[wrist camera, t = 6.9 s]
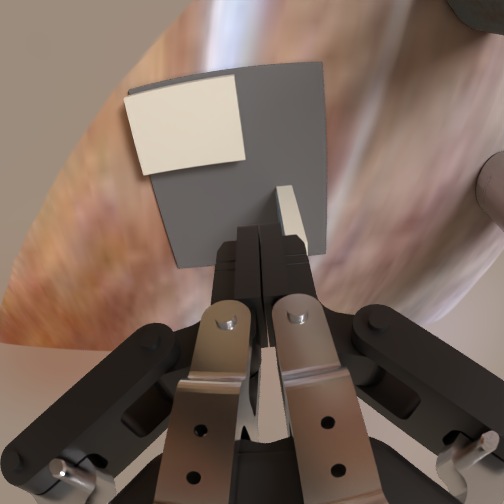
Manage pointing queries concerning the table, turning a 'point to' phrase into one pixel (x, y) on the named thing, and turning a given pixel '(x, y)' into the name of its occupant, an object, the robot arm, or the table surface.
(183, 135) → the tile
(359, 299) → the table surface
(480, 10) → the bottle
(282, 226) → the tile
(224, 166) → the mat
